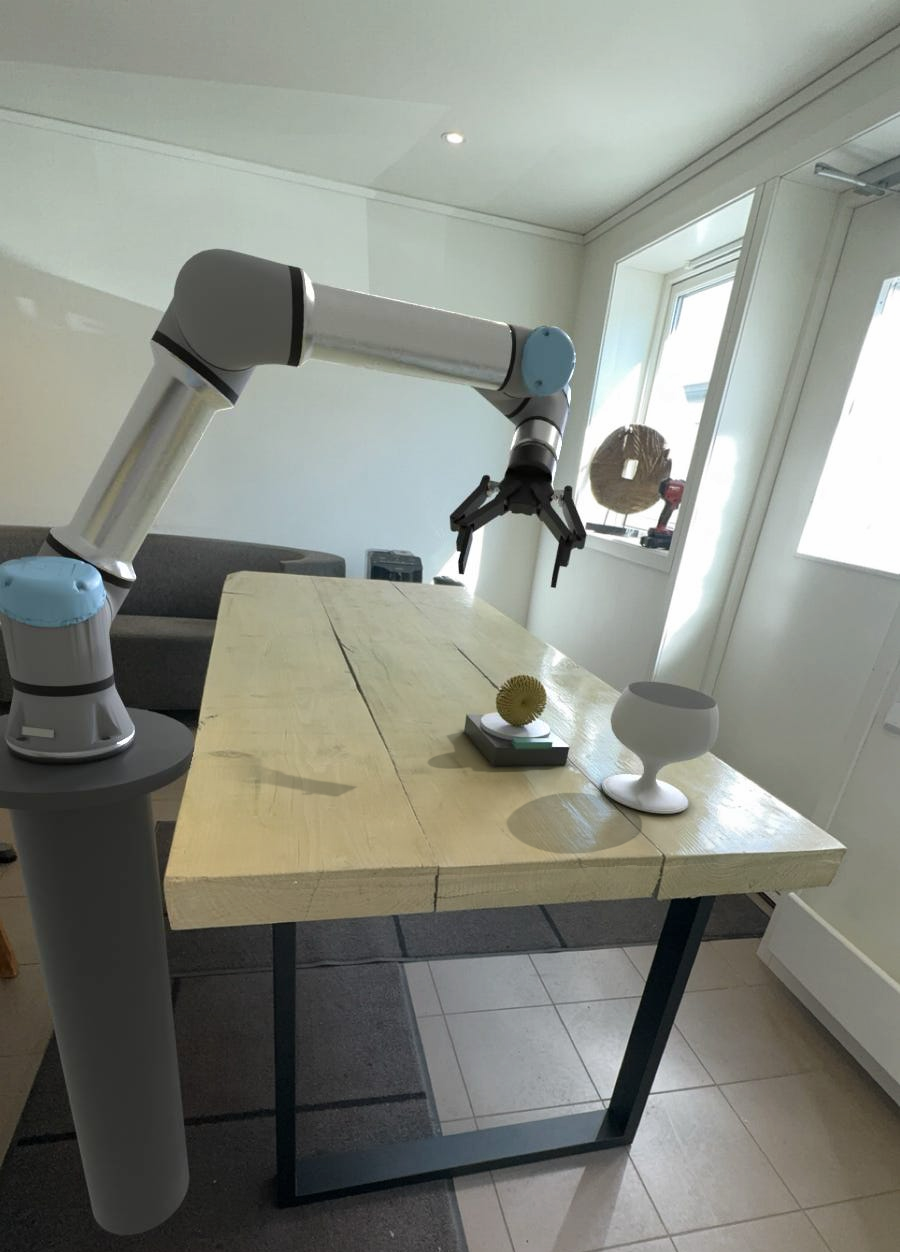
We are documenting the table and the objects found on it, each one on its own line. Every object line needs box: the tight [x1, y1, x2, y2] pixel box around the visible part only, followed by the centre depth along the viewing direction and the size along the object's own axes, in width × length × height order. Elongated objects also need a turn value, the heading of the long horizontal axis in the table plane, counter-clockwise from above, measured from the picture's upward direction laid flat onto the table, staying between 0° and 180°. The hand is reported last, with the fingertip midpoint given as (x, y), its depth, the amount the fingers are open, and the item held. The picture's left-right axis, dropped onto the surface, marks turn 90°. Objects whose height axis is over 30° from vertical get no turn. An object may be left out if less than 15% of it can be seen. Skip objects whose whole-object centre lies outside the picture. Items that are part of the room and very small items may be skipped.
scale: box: [463, 711, 570, 767], centre depth 104 cm, size 14×12×4 cm
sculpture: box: [495, 674, 548, 726], centre depth 101 cm, size 8×4×8 cm, turn 102°
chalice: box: [601, 681, 720, 814], centre depth 90 cm, size 14×14×15 cm
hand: (507, 575), depth 95 cm, fingers open, 13 cm apart
